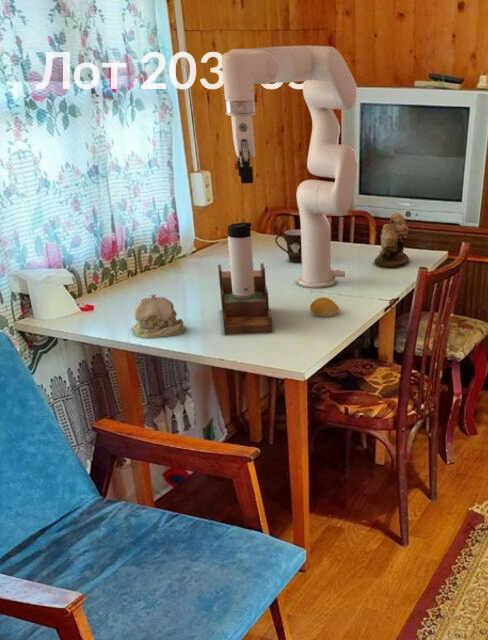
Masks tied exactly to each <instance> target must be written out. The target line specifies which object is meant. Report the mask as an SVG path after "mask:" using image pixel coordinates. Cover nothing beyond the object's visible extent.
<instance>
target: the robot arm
mask: <svg viewBox="0 0 488 640" xmlns="http://www.w3.org/2000/svg"><path fill="white" fill-rule="evenodd" d="M221 68H222V69H221V70H222V71H221V72H222V81H223V82H222V83H223V91H224V104H225V115H226V116H230V117H231V129H232V139H233V145H234V151H235V154H236V157H237V169H238V177H240V182H241V184H244V185H245V184H254V171H253V166H252V158H254V159H255V158H256V156H257V155H256V146H255V145H256V144H255V135H254V134H255V133H254V124H253V116H255V115H256V101H255V86H254V85H255V84H256V85H268V84H270V83H284V84H285V83H296V82H303V84H302V94H303V98H304V101H305V103H306V105H307V108H308V111H309V114H310V117H311V121H312V123H311V124H312V126H311V134H310V141H309V147H308V154H307V160H306V163H307V164H306V167H307V170H308V172H309V173H310V174H311V175H313V176H317V177H321V178H330V179H334V181H328V180H319V179H306V180H304V181H302V182H300V183H299V185H298V187H297V189H296V194H295V195H296V203H297V208H298V212H299V220H300V221H299V222H300V230H301V253H302V263H301V276H299V277H298V278H297V284H298V285H299V286H302V287H305V288H316V289H317V288H327V287H331V286H333V285H335V284H336V278H345V276H346V272H345V270H340V269H336V270H335V269H333V268H332V267H331V225H330V222H329V220H328V217H327V216H333V217H334V216H335V217H343V216H345V215H346V214H347V213H348V212H349V210H350V208H351V204H352V200H353V194H354V190H355V182H356V179H357V178H356V177H357V171H358V156H357V153H356V150H355V149H354V148H353V147H351V146H350V145H347V144H346V145H345V144H339V140H340V139H339V138H340V133H341V128H340V126H341V125H340V123H339V120H338V117H337V116H336V114H335V112H334V110H342V111H348V110H350V109H352V108H354V106H356V103H357V101H358V86H357V83H356V81H355V77H353V74H352V72H351V70H350V68H349V66H348V65H347V63H346V61H345V59H344V57H343V56H342V54H341V53H340V52H339V50H338V49H336V48H335V47H334V46H329V45H328V46H327V45H285V46H284V45H283V46H281V45H280V46H268V47H257V48H233V49H231V50H229V51H227V52H224V53H222V56H221Z"/></svg>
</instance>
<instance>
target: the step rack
mask: <svg viewBox="0 0 488 640" xmlns="http://www.w3.org/2000/svg"><path fill="white" fill-rule="evenodd" d="M217 267H218V268H217V269H218V277H219V278H218V282H219V291H220V301H221V302H220V303H221V313H222V321H223V332H224V335H225V336H226V335H228V336H229V335H246V334H247V335H249V334H264V333H265V334H269V333H272V332H273V330H272V329H273V326H272V325H273V324H272V315H271V312H270V303H269V292H268V288H267V283H266V282H267V281H266V268H265V265H264V263H263V262H261V263H260V270H259V269H258V270H253V273H254V289H255V290H254V291H255V296H254V297H253V298H251V299H245V300H242V299H236V298H234V297H233V293H232V281H231V270H230V271H227V270H226V271H222V265H221V264H217Z"/></svg>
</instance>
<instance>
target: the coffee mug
mask: <svg viewBox="0 0 488 640" xmlns="http://www.w3.org/2000/svg"><path fill="white" fill-rule="evenodd" d="M278 238H283V239H284V241H285V243H286V249H285V248H284V247H282V245H280V244H279V242H278ZM274 241H275V244H276V246H278V247H279V248H280V249H281V250H283V251H284V252H285V253H286V254H287V256H288V262H289V263H292V264H302V253H301V229H288V230H286V231H284V235H283V234H279V235H277V236H276V237H275V239H274Z"/></svg>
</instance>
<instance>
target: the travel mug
mask: <svg viewBox="0 0 488 640" xmlns="http://www.w3.org/2000/svg"><path fill="white" fill-rule="evenodd" d="M252 226H253V224H252V222H236V223H232V224H230V225H228V226H227V241H228V254H229V267H230V271H231V281H232V293H233V297H234V298H236V299H242V300H245V299H251V298H253V297H254V296H255V291H254V290H255V289H254V273H253V271H254V258H253V243H252V232H251V231H252V229H251V227H252Z"/></svg>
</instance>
